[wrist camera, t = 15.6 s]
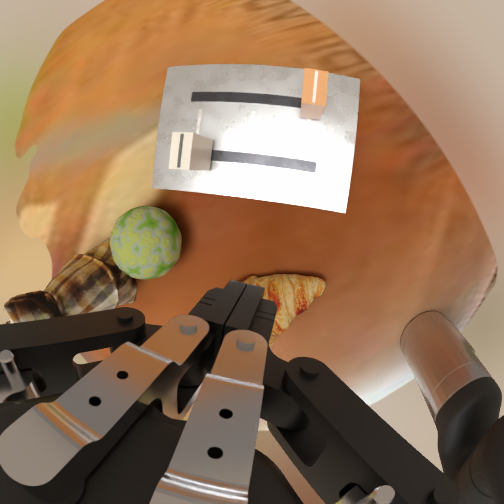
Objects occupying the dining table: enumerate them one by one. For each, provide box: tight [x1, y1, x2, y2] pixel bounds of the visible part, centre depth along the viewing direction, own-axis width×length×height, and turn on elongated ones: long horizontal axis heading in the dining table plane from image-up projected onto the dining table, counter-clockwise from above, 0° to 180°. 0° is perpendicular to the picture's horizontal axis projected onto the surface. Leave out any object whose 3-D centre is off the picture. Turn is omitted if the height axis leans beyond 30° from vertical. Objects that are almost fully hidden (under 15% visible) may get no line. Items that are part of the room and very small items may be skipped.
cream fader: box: [169, 132, 213, 170], centre depth 30 cm, size 2×4×7 cm, turn 173°
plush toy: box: [3, 238, 137, 324], centre depth 32 cm, size 14×14×25 cm
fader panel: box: [152, 64, 360, 213], centre depth 32 cm, size 26×18×2 cm
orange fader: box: [300, 68, 329, 120], centre depth 26 cm, size 2×4×7 cm, turn 174°
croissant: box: [243, 274, 326, 346], centre depth 38 cm, size 21×10×8 cm, turn 120°
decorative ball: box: [110, 206, 182, 279], centre depth 35 cm, size 10×10×10 cm
